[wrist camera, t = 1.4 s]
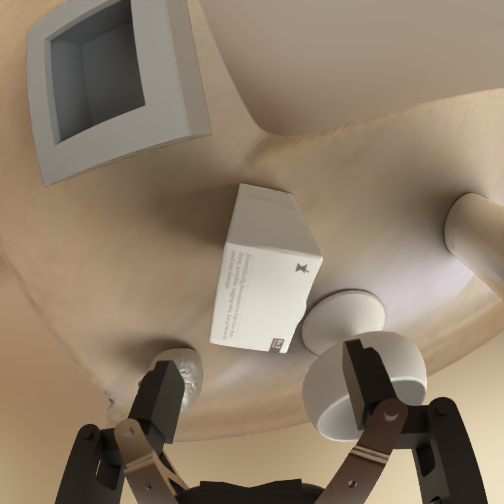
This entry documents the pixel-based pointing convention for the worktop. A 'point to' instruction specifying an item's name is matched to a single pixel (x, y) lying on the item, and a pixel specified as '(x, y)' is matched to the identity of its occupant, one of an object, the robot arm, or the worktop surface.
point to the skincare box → (264, 272)
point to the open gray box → (111, 83)
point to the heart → (184, 373)
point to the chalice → (330, 361)
